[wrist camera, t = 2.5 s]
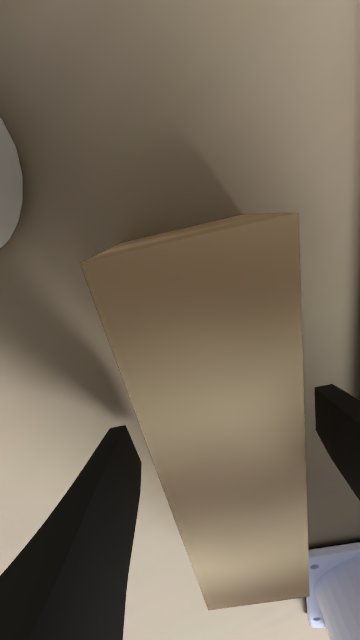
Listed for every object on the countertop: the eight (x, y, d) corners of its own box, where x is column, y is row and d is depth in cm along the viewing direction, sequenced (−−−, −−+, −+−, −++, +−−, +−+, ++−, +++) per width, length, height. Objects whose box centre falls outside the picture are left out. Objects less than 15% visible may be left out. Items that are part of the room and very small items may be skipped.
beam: (272, 491, 13) (309, 596, 10) (198, 503, 14) (208, 610, 10) (241, 214, 8) (298, 213, 4) (121, 242, 8) (79, 262, 5)
